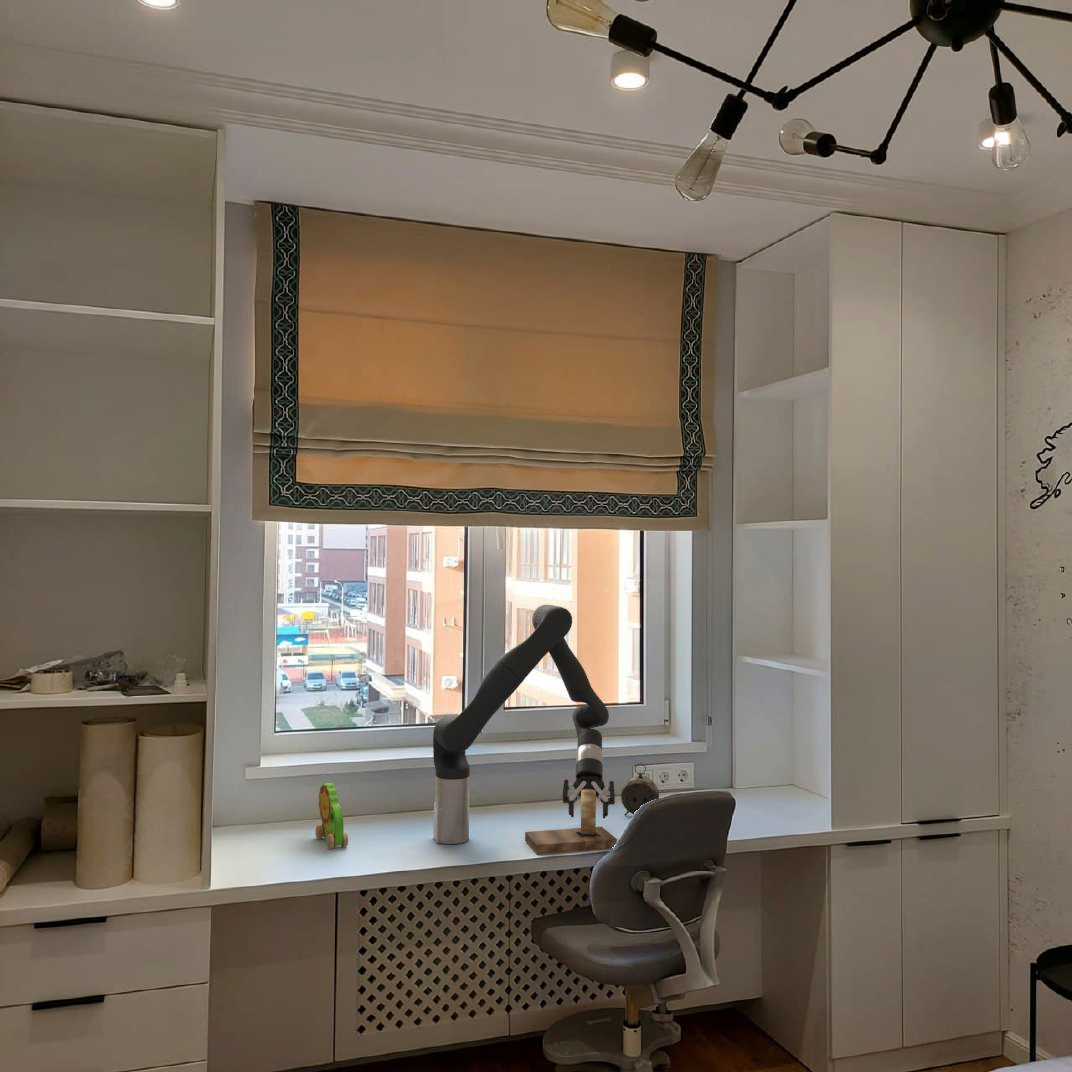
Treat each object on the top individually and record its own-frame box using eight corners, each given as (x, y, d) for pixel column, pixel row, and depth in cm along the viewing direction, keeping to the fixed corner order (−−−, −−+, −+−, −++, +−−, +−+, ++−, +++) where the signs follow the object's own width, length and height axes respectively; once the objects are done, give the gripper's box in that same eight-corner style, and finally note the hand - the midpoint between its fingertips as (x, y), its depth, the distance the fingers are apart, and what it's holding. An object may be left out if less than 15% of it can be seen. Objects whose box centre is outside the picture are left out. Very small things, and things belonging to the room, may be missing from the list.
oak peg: (583, 846, 251) (583, 793, 251) (578, 841, 255) (578, 789, 255) (597, 845, 252) (598, 792, 253) (592, 840, 256) (593, 788, 257)
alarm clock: (659, 817, 280) (659, 762, 281) (656, 822, 275) (657, 766, 275) (622, 814, 283) (623, 760, 283) (619, 819, 278) (620, 764, 278)
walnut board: (537, 854, 243) (537, 844, 243) (525, 841, 255) (525, 831, 255) (616, 848, 249) (616, 838, 249) (601, 835, 261) (601, 826, 261)
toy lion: (349, 848, 247) (350, 790, 247) (329, 851, 244) (330, 792, 245) (331, 833, 261) (332, 777, 261) (312, 835, 258) (312, 780, 259)
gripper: (563, 756, 262) (561, 808, 250) (614, 757, 261) (615, 809, 249) (564, 771, 267) (562, 822, 256) (614, 772, 266) (614, 824, 254)
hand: (588, 816), depth 252 cm, fingers open, 8 cm apart
